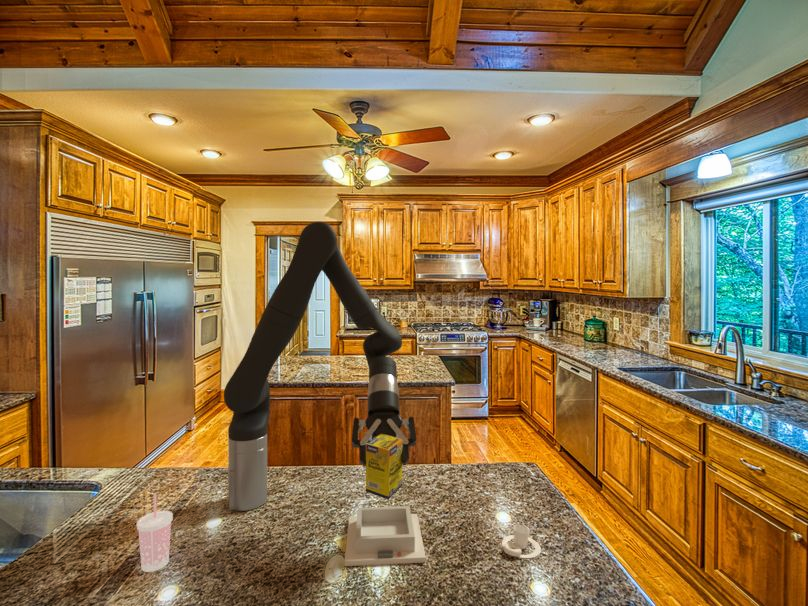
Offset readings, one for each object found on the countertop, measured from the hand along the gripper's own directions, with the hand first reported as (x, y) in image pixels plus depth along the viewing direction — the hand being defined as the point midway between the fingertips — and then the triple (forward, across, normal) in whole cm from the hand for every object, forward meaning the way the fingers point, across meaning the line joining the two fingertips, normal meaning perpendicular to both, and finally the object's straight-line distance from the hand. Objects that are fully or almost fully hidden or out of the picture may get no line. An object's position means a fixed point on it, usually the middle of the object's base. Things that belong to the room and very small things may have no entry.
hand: (384, 464), depth 85 cm
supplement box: (+3, 0, +5) cm, 6 cm away
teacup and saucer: (+14, +26, +11) cm, 31 cm away
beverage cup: (+15, -45, +9) cm, 48 cm away
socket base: (+11, 0, +13) cm, 17 cm away
